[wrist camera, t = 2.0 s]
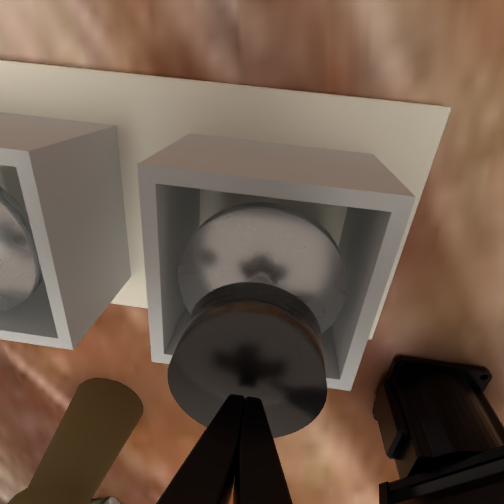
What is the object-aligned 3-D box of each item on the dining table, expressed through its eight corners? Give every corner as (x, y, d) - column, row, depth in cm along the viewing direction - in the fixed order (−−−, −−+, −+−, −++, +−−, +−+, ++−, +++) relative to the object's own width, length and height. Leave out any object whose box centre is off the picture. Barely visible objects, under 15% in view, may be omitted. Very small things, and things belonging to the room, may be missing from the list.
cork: (71, 373, 28) (-45, 530, 19) (141, 384, 28) (61, 549, 18) (81, 419, 31) (-14, 575, 21) (145, 429, 31) (78, 592, 21)
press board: (442, 105, 16) (547, 128, 9) (368, 329, 23) (399, 433, 16) (-105, 48, 17) (-346, 33, 11) (-24, 275, 24) (-143, 350, 18)
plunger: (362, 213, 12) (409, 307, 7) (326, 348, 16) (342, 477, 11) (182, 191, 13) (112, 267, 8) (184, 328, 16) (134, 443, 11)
